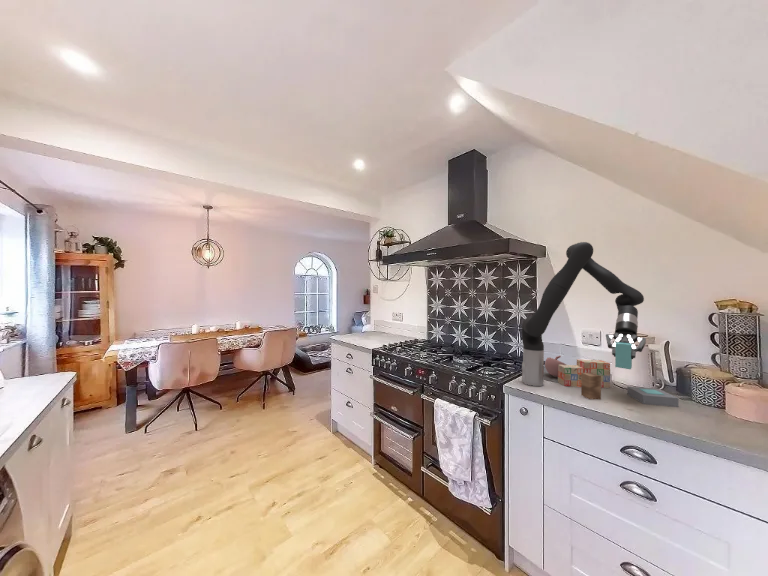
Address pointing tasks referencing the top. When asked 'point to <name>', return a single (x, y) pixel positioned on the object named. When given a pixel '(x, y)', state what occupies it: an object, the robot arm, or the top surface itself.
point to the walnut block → (591, 385)
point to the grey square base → (652, 396)
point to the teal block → (623, 355)
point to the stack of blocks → (572, 373)
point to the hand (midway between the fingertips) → (623, 356)
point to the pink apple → (553, 365)
